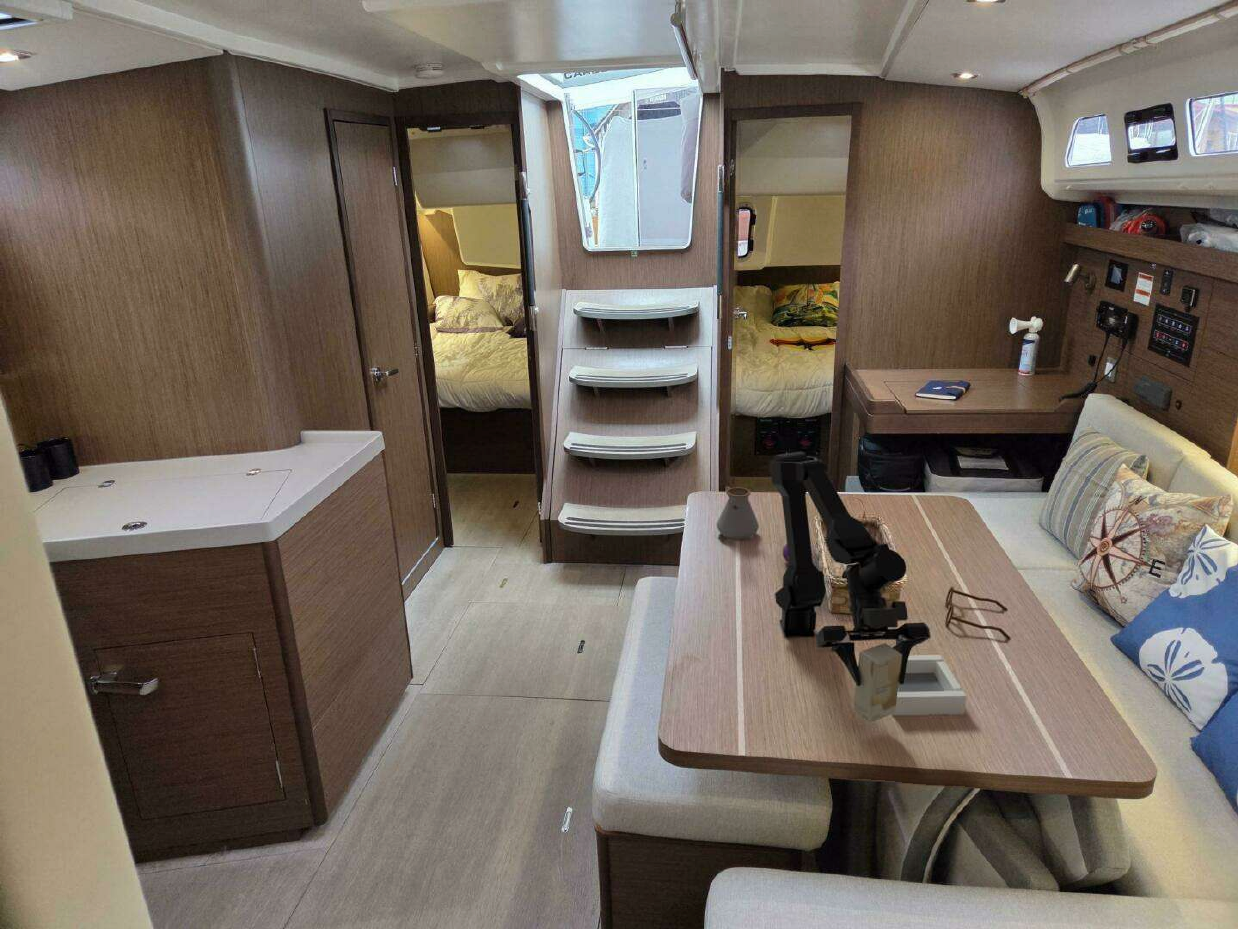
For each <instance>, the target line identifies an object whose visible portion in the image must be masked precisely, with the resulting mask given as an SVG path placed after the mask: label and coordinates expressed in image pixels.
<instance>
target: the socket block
mask: <svg viewBox="0 0 1238 929" xmlns="http://www.w3.org/2000/svg"><path fill="white" fill-rule="evenodd" d="M966 702H967V694H966V693H965V692H964V690H962V686H961V685H960V684H959V682H958V680H957V679H956V677H955V676H954V675H953V673H952V671H951V669H950V668H949V667H948V665H947V663H946V662H945V661H944V659H943V657H942V656H941V655H940V654H935V655H934V654H923V655H918V654H917V655H915V654H914V655H909V657H908V661H907V667H906V673H905V680H904V684H902V685H900V683H899V685H898V692H897V700H896V708H895V713H893V714H891V716H936V715H937V714H939V716H941V715H940V714H949V715H964V714H965V709H966ZM929 714H931V715H929ZM935 714H936V715H935ZM937 716H938V715H937Z"/></svg>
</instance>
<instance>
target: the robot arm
mask: <svg viewBox="0 0 1238 929" xmlns="http://www.w3.org/2000/svg"><path fill="white" fill-rule="evenodd" d="M768 472H769V475H770V476H771V481H772V482H771V483H772V485H773V487H774V489H776V490H777V492H778V493H779V495H780V496H781V500H782V501H781V502H782V510H783V519H784V528H785V535H786V536H785V539H786V544H787V548H788V557H789V564H788V565H787V567H786V569H785V572H784V574H783V576H782V587H781V588H780V589H778V590H777V591H776V592H775V593H774V598H775V603H776V604H777V605H778V607H780V609H781V619H780V620H779V624H780V627H781V631H782V634H783V636H784V638H812V637H815V639H816V644H817V648H820V649H822V648H830V652H831V653H836V655H837V656H838V657H839V659H840V660H841V661H842V662H843V664H844V666H845V667H846V669H847V671H848V674H850V676H851V677H852V680H853V681H854V683H855V686H856V685H857V686H860V685H861V681H860V674H859V670H858V662H857V657H856V652H855V642H862V641H863V642H864V641H889V640H893V641H894V640H895V645H894V646H892V648H893V649H895V650H896V651H898V652H899V653H901V654H902V661H901V669H900V677H899V683H900V685H902V684H904V680H905V673H906V667H907V661H908V657H909V656H910V654H911V653H910V652H911V651H912V648H913V647H916V646H917V645H919V644H923V643H925V642H926V641H927V640H929V639H932V637H931V631H930V627H929V626H928V625H927V624H926V623H925V622H905V623H904V624H902V625H900V626H899V625H898V623H899V621H902V622H903V621H907V620H908V618H909V617H908V616H909V615H908V608H907V604H906V601H904V600H898V601H897V600H895V601H893V600H892V602H891V605H887V600H886V597H883V592H882V590H883V589H885V588H887V587H890V585H893V584H895V583H896V582H898V581H899V580H902V579H903V578H904V577H905V575H906V572H907V564H906V561H905V559H904V558H903V557H902V555H901V554H899V552H896V551H895V550H893V549H890V547H889V543H887V542H886V543H881V544H880V543H879V542H878V541H877V540H876V539H875V538H874V537H873V536H872V534H870V532H869V530H868V529H867V528H866V527H865V525H864V523H863V522H861V521H860V520H858V519H856V518H855V517H853V516H852V515H851V514H850V513H849V511H848V509H847V507H846V505H845V504H844V502H843V499H842V498H841V496H840V494H839V493H838V491H837V489H836V488H835V485H834V483H833V482H832V480H831V479H830V478H831V477H830V476H829V475H828V472H827V467H826V464H825V462H824V461H823V460H821V459H817V457H816V456H815V457H814V456H807V454H806V453H805V452H803V451H798V452H790V453H783V454H776V455H774V456H773V457H772V460H770V461H769V464H768ZM807 492H808V495H809V497H810V499H811V501H812V503H813V504H814V507H815V509H816V510H817V512H818V514H819V516H820V518H821V520H822V522H823V524H824V526H825V529H826V536H825V542H826V546H827V547H828V552H829V555H830V557H831V558H832V559H833V561H834V562H836V563H838V564H841V565H842V564H843V565H846V568H845V569H844V570H843V571H842V575H841V579H845V580H846V584H847V590H848V595H849V602H850V603H849V604H850V605H849V606H848V607H849V612H850V613H851V616H852V621H853V628H852V630H847V629H846V627H845V625H844V624H843V625H841V624H840V625H824V626H823V627H822V628H821V629H820V630H819V631H818V632H817V633H815V631H814V630H816V626H817V611H816V609H815V608H817V607H822V604H823V602H824V599H825V596H826V594H827V588H826V585H825V574H824V573H823V571H822V570H819V569H818V567H817V566H816V565H815V563H814V561H813V551H812V544H811V543H812V542H811V533H810V524H809V523H810V522H809V516H808V506H807V504H808V503H807V496H806V495H807ZM815 634H816V635H815Z"/></svg>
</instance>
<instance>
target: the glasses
mask: <svg viewBox="0 0 1238 929" xmlns="http://www.w3.org/2000/svg"><path fill="white" fill-rule="evenodd" d="M953 594H956V595H959V596H960V595H961V596H963V597H966V598H969V599H972V600H976V601H978V602H989V603H992V604H995V605H996V606H998V607H999V608H1001V609H1002V610H1004V611H1008V610H1009V609H1008V608H1007V607H1006V606H1004V605H1003V604H1002V603H1001V602H999V601H998V600H996V599H992V598H989V597H988V598H987V597H986V598H985V597H978V596H976V595H972V594H969V593H966V592H962V591H960V590H957V589H954V587H953V586H951V587H950V588H949V590H948V593H947V596H946V598H945V602H944V603H945V605H944V607H945V608H948V611H947V614H946V617H945V623H944V624H945V627H949V625H950V623H951V621H952V620H953V621H957V622H959V623H962V624H965V625H969V626H972V627H975V628H977V629H981V630H982V629H983V630H984V629H985V630H993V631H999V633H1001V635H1003V637H1005V638H1006V639H1008V640H1011V639H1012V637H1011V636H1009V635H1008V633H1006V632H1005V631H1004V630H1003V629H1002V628H1001V627H998V626H994V625H993V626H992V625H982V624H979V623H976V622H972V621H969V620H966V619H963V618H959V617H957V616H954V615H953V614H954V612H955V605H953V599H952V598H953V597H954V596H953Z"/></svg>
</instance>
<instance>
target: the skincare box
mask: <svg viewBox="0 0 1238 929" xmlns="http://www.w3.org/2000/svg"><path fill="white" fill-rule="evenodd" d="M858 653H859V654H858V662H857V665H858V670H859V674H860V681H861V685H860V686H857V685H856V684H855V689H854V690H855V691H854V699H853V700H854V701H853V707H852V711H854V712H855V714H858V715H859V716H860V717H861V718H863V719H864V720H865V721H866V722H868V723H869V724H871V723H873V722H876V721H879V720H883V719H884V718H886V717H889V716H890V715H891V716H892V714H893V713H895V708H896V700H897V692H898V685H899V677H900V669H901V661H902V654H901V653H899V652H898V651H896V650H895V649H893V646H890V645H889V644H888V643H885V642H884V643H881V644H879V645H876V646H872V647H870V648H868V649H865V650H861V651H859V652H858Z"/></svg>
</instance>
